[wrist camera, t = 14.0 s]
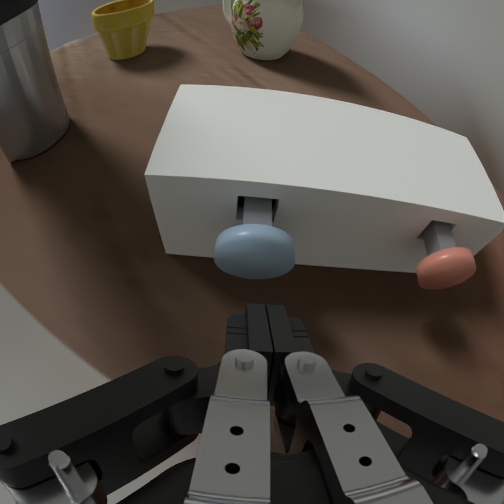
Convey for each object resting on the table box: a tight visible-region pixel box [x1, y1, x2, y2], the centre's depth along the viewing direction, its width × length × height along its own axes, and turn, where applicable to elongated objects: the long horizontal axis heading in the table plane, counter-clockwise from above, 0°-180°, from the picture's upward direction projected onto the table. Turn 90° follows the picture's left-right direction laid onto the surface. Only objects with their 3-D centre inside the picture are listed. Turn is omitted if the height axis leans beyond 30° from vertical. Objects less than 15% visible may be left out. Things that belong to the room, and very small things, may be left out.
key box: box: [144, 85, 504, 273], centre depth 23 cm, size 10×26×9 cm, turn 88°
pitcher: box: [223, 0, 303, 60], centre depth 38 cm, size 11×18×14 cm, turn 45°
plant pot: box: [92, 0, 154, 60], centre depth 38 cm, size 10×10×10 cm
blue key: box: [214, 196, 295, 279], centre depth 19 cm, size 8×4×4 cm, turn 177°
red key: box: [416, 220, 477, 290], centre depth 20 cm, size 8×4×4 cm, turn 177°
